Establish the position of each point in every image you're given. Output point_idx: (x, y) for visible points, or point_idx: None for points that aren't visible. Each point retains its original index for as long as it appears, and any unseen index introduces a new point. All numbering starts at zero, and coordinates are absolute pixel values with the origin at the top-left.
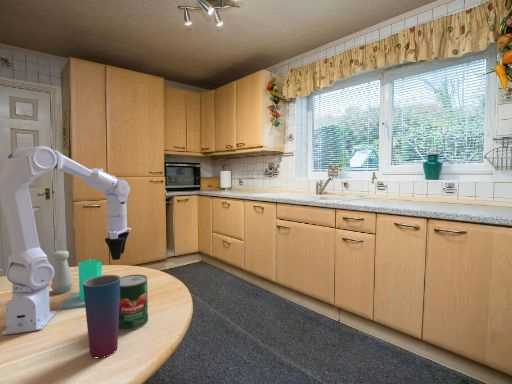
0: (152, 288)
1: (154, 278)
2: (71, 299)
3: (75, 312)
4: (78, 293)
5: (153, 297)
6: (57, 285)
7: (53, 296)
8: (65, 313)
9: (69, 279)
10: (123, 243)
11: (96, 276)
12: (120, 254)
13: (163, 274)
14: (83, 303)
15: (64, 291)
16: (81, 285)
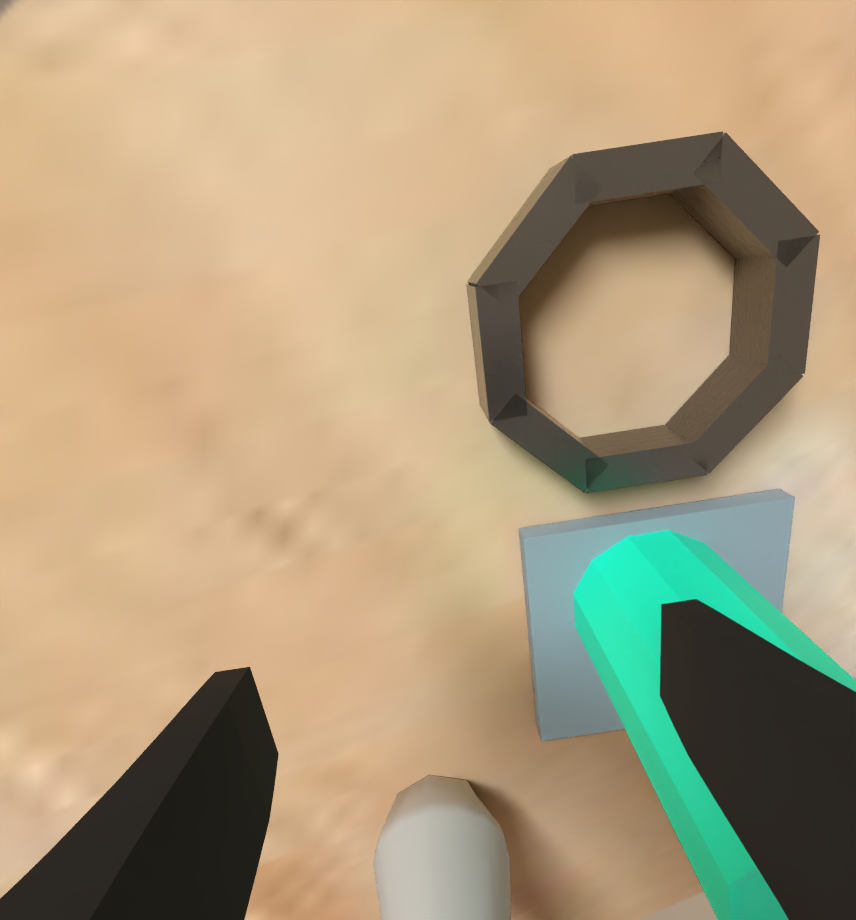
0: (525, 103)
1: (182, 149)
2: None
3: (842, 592)
4: (562, 698)
5: (793, 33)
6: (508, 868)
7: (521, 809)
8: (831, 639)
9: (463, 855)
10: (140, 890)
11: (840, 669)
12: (770, 645)
13: (14, 41)
14: (774, 596)
15: (473, 791)
16: None
